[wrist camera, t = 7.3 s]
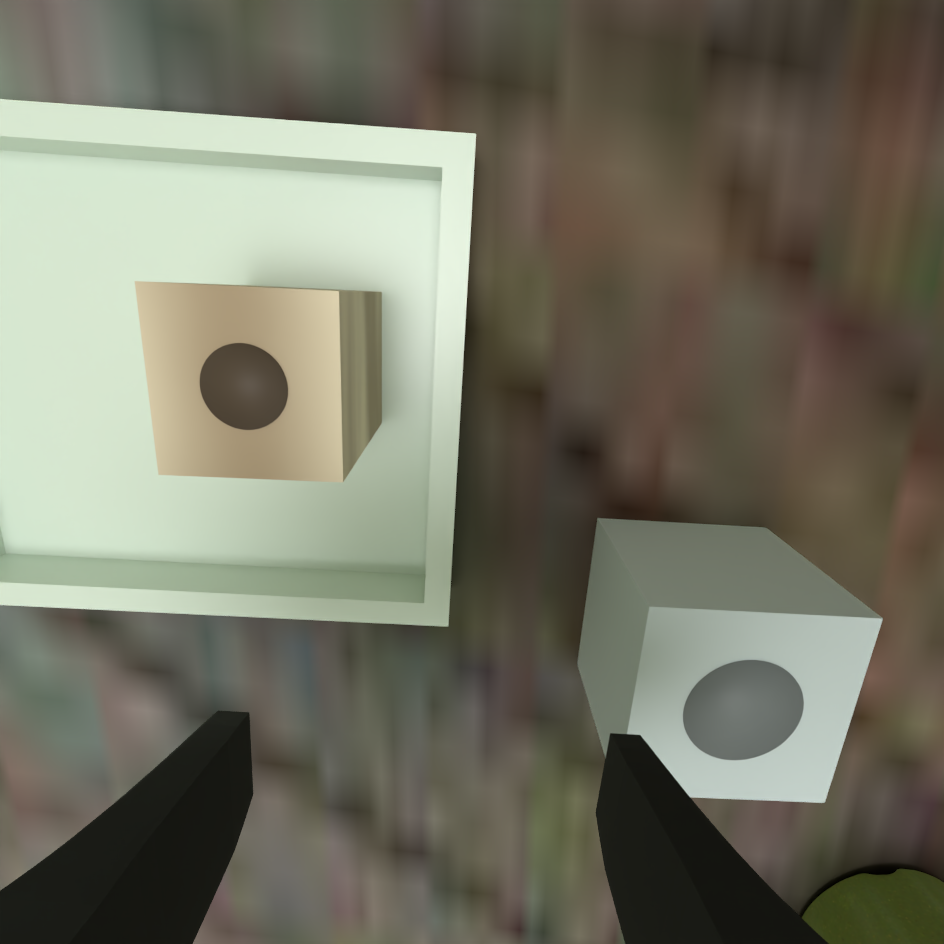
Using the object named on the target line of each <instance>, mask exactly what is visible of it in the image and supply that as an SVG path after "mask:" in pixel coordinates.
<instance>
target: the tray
mask: <svg viewBox="0 0 944 944" xmlns="http://www.w3.org/2000/svg"><path fill="white" fill-rule="evenodd" d="M475 145H476V134H473V133H459V132H445V131H432V130H418V129H404V128H390V127H376V126H363V125H349V124H335V123H321V122H308V121H294V120H280V119H266V118H252V117H239V116H225V115H211V114H197V113H184V112H170V111H156V110H142V109H129V108H115V107H101V106H87V105H73V104H60V103H46V102H32V101H18V100H5V99H0V605H14V606H34V607H55V608H76V609H96V610H117V611H137V612H158V613H179V614H199V615H220V616H241V617H261V618H282V619H302V620H323V621H344V622H364V623H385V624H406V625H426V626H447V627H448V623H449V605H450V587H451V570H452V552H453V534H454V517H455V499H456V481H457V464H458V446H459V428H460V411H461V393H462V375H463V357H464V340H465V322H466V304H467V287H468V269H469V251H470V234H471V216H472V198H473V181H474V163H475ZM135 281H144V282H172V283H199V284H227V285H252V286H273V287H293V288H314V289H334V290H355V291H375V292H382V423H381V425H380V427H379V428H378V430H377V431H376V433H375V434H374V436H373V437H372V439H371V440H370V442H369V443H368V445H367V447H366V448H365V450H364V451H363V453H362V454H361V456H360V457H359V459H358V460H357V462H356V463H355V465H354V467H353V468H352V470H351V471H350V473H349V474H348V476H347V477H346V479H345V480H344V482H320V481H296V480H271V479H247V478H222V477H198V476H174V475H158V467H157V459H156V451H155V443H154V435H153V427H152V419H151V411H150V402H149V394H148V386H147V378H146V370H145V362H144V354H143V346H142V338H141V329H140V321H139V313H138V305H137V297H136V289H135Z"/></svg>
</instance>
